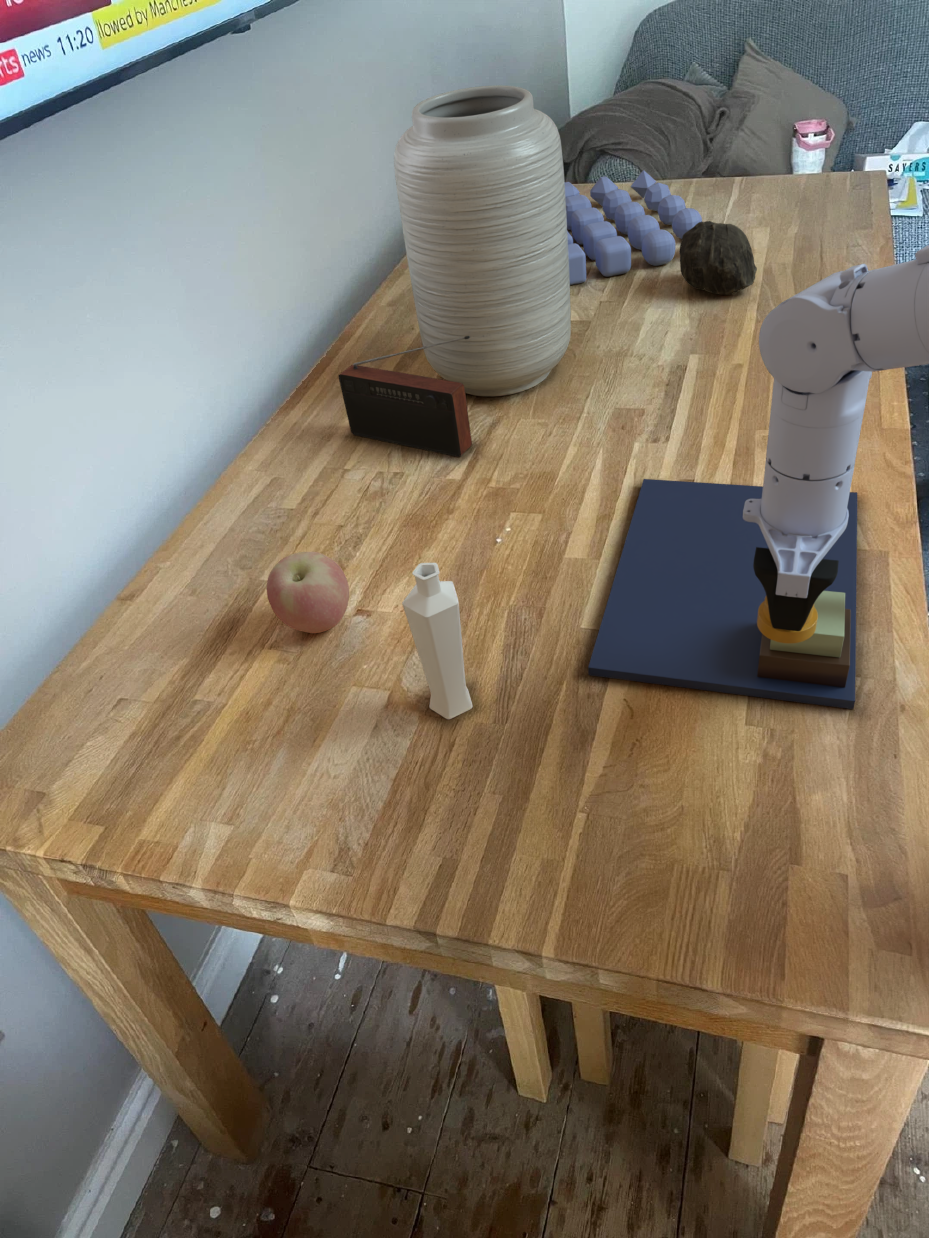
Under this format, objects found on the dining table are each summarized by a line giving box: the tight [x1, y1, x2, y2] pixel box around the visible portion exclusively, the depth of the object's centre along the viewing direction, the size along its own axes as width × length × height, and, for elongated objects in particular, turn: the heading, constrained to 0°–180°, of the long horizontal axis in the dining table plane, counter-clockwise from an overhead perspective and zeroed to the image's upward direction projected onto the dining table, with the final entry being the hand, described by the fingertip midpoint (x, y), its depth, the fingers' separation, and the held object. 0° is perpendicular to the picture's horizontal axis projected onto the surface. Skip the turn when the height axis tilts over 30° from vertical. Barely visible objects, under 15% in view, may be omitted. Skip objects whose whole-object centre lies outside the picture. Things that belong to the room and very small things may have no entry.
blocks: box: [564, 169, 703, 286], centre depth 159 cm, size 35×34×5 cm
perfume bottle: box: [401, 562, 474, 720], centre depth 78 cm, size 5×4×15 cm
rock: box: [678, 220, 758, 296], centre depth 138 cm, size 10×11×10 cm
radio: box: [337, 336, 473, 458], centre depth 112 cm, size 19×3×15 cm, turn 60°
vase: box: [393, 84, 572, 398], centre depth 118 cm, size 20×20×34 cm
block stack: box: [757, 591, 851, 688], centre depth 79 cm, size 7×7×5 cm
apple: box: [266, 551, 350, 634], centre depth 91 cm, size 8×8×8 cm
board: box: [587, 478, 858, 710], centre depth 90 cm, size 30×22×1 cm
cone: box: [757, 596, 818, 643], centre depth 72 cm, size 4×4×6 cm
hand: (789, 608), depth 72 cm, fingers closed on cone, 3 cm apart
